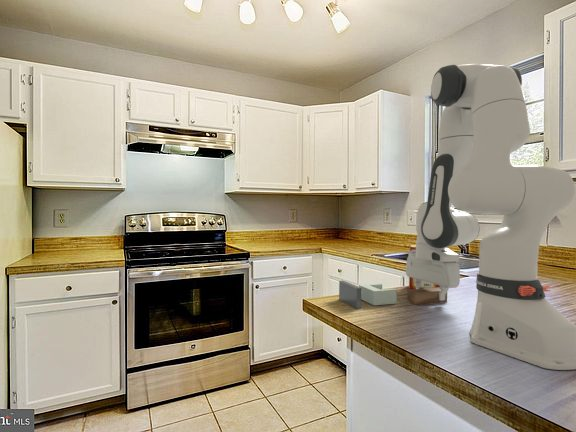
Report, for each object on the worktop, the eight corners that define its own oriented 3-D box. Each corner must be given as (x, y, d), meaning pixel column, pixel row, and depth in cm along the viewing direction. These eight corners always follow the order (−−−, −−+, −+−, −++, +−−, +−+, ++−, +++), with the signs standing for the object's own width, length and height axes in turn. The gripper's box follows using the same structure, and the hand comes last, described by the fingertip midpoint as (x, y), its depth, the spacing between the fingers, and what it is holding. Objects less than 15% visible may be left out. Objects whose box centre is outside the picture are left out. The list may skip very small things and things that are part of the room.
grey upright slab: (361, 308, 101) (361, 288, 100) (356, 308, 100) (356, 288, 100) (343, 299, 111) (343, 280, 111) (339, 299, 110) (339, 280, 110)
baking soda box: (435, 288, 128) (436, 245, 128) (438, 292, 122) (438, 247, 122) (408, 286, 131) (409, 244, 131) (409, 290, 125) (410, 245, 124)
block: (396, 303, 106) (396, 289, 106) (373, 305, 103) (374, 291, 103) (380, 296, 114) (380, 283, 114) (358, 298, 112) (358, 285, 111)
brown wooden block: (447, 302, 109) (447, 290, 109) (415, 306, 105) (415, 292, 105) (437, 299, 112) (438, 287, 112) (407, 302, 109) (407, 289, 109)
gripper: (401, 249, 118) (400, 289, 118) (446, 257, 98) (445, 305, 98) (416, 248, 120) (416, 288, 120) (464, 256, 100) (463, 303, 100)
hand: (429, 296), depth 109 cm, fingers open, 8 cm apart
